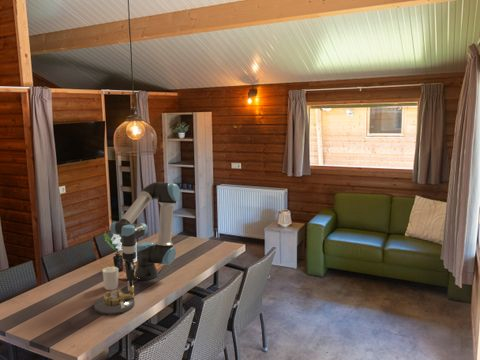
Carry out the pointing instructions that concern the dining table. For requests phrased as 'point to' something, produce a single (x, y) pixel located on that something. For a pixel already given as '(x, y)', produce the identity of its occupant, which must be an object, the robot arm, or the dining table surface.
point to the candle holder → (110, 278)
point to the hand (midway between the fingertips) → (130, 290)
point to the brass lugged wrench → (121, 297)
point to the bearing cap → (115, 309)
